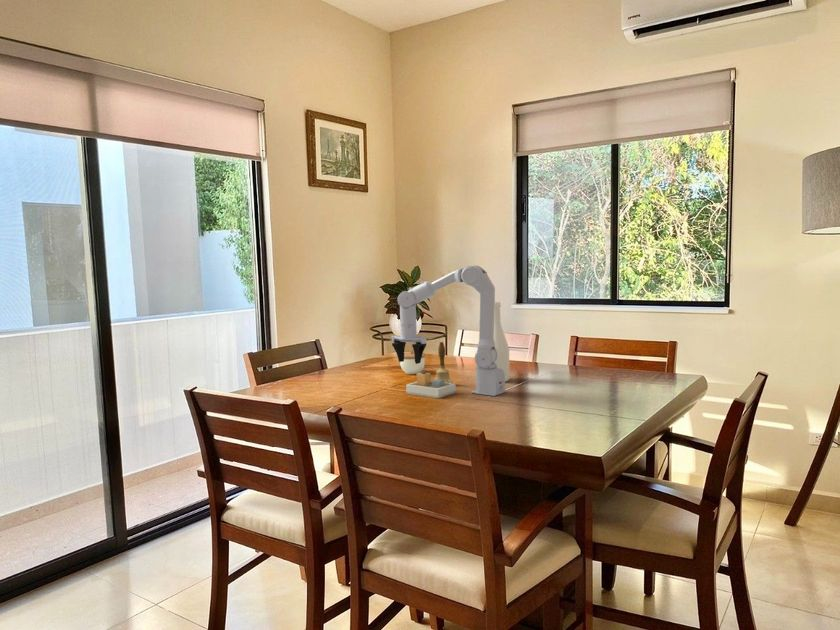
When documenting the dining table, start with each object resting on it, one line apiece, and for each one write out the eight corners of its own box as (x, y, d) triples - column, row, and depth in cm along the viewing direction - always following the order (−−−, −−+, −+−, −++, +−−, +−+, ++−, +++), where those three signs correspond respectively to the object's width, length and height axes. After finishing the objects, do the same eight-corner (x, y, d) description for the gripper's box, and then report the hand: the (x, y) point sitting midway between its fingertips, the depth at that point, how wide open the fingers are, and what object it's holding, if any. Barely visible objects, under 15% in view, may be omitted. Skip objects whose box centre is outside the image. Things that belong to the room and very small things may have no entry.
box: (455, 392, 212) (455, 378, 212) (438, 398, 204) (438, 383, 204) (423, 388, 221) (423, 374, 220) (406, 393, 213) (405, 379, 212)
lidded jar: (395, 372, 255) (394, 350, 254) (418, 369, 259) (418, 347, 258) (406, 376, 245) (405, 353, 244) (430, 373, 249) (429, 350, 249)
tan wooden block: (430, 389, 214) (430, 369, 214) (425, 391, 211) (424, 371, 211) (422, 388, 216) (422, 368, 216) (416, 390, 214) (416, 370, 213)
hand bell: (427, 386, 225) (426, 343, 223) (437, 382, 232) (436, 340, 231) (448, 387, 221) (447, 344, 219) (457, 383, 228) (456, 341, 227)
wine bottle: (509, 377, 236) (507, 300, 233) (510, 382, 226) (508, 302, 224) (484, 378, 237) (482, 300, 234) (484, 382, 227) (482, 302, 225)
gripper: (385, 324, 219) (386, 362, 220) (417, 326, 210) (418, 365, 211) (398, 323, 224) (399, 359, 225) (429, 324, 215) (430, 362, 216)
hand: (409, 362), depth 219 cm, fingers open, 7 cm apart
